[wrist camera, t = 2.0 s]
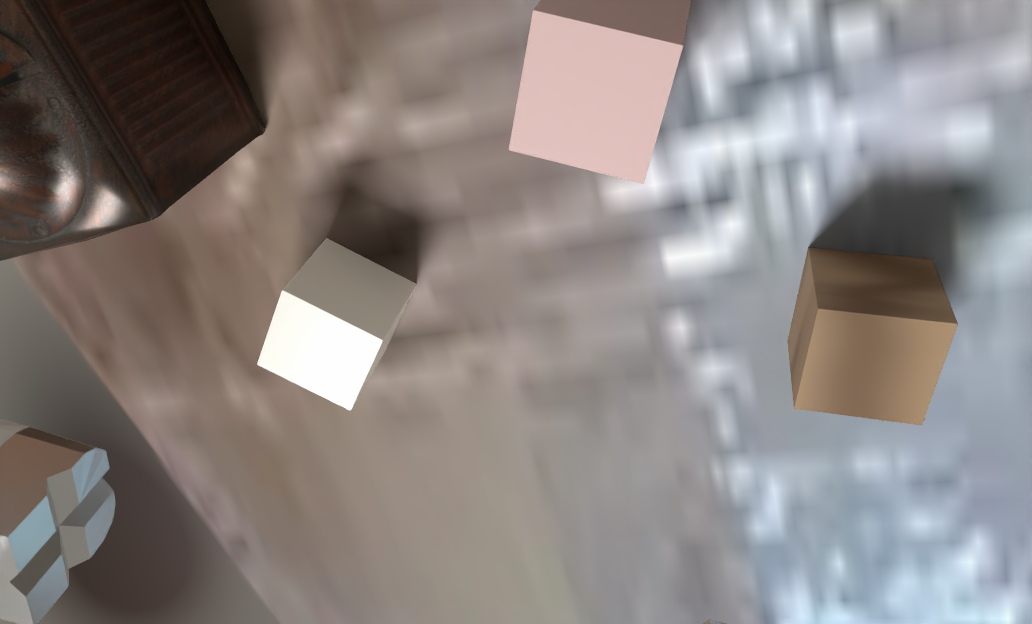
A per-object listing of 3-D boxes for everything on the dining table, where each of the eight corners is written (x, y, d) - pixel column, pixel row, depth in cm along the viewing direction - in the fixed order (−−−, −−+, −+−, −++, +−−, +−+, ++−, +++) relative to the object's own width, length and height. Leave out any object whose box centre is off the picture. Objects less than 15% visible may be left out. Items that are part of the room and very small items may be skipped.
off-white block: (417, 283, 41) (382, 340, 37) (385, 350, 44) (350, 410, 40) (326, 237, 41) (282, 289, 37) (301, 308, 44) (257, 364, 40)
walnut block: (931, 258, 35) (958, 323, 31) (901, 353, 37) (921, 425, 33) (808, 246, 36) (818, 308, 32) (787, 340, 38) (794, 408, 34)
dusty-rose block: (693, -15, 31) (682, 45, 24) (660, 102, 33) (643, 183, 27) (574, -42, 31) (532, 10, 25) (551, 75, 34) (508, 149, 27)
